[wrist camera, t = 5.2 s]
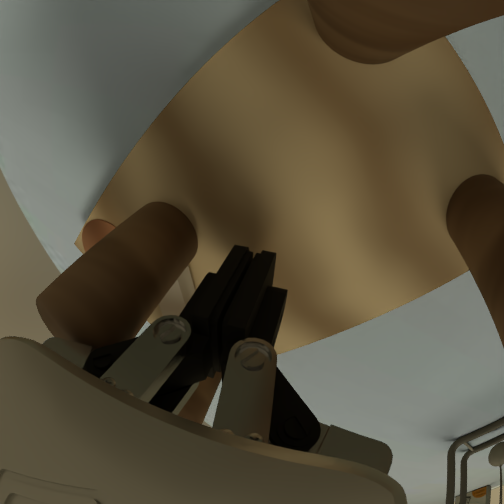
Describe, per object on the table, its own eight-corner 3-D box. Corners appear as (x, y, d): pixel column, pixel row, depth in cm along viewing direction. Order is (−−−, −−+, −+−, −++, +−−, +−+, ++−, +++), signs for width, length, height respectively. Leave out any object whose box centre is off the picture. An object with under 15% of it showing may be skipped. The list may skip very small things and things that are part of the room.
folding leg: (232, 373, 19) (196, 459, 13) (186, 363, 20) (145, 440, 14) (189, 200, 12) (79, 306, 6) (128, 202, 13) (23, 287, 7)
